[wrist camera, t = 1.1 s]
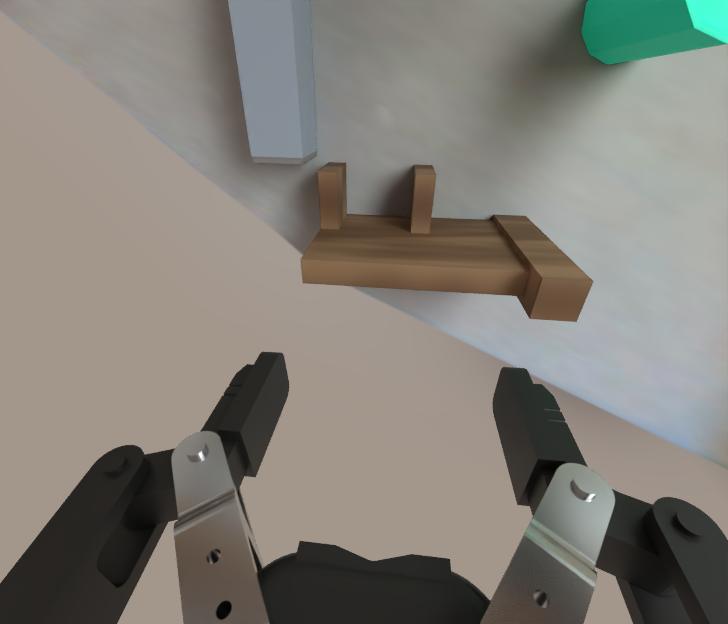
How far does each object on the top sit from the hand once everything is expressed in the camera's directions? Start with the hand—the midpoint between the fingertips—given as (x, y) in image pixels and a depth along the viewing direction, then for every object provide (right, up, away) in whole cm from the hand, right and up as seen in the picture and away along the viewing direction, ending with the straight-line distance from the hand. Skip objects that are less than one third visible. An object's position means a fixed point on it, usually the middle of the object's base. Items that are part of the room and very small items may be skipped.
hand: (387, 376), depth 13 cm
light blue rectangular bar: (-7, +23, +13) cm, 27 cm away
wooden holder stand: (+4, +13, +18) cm, 22 cm away
